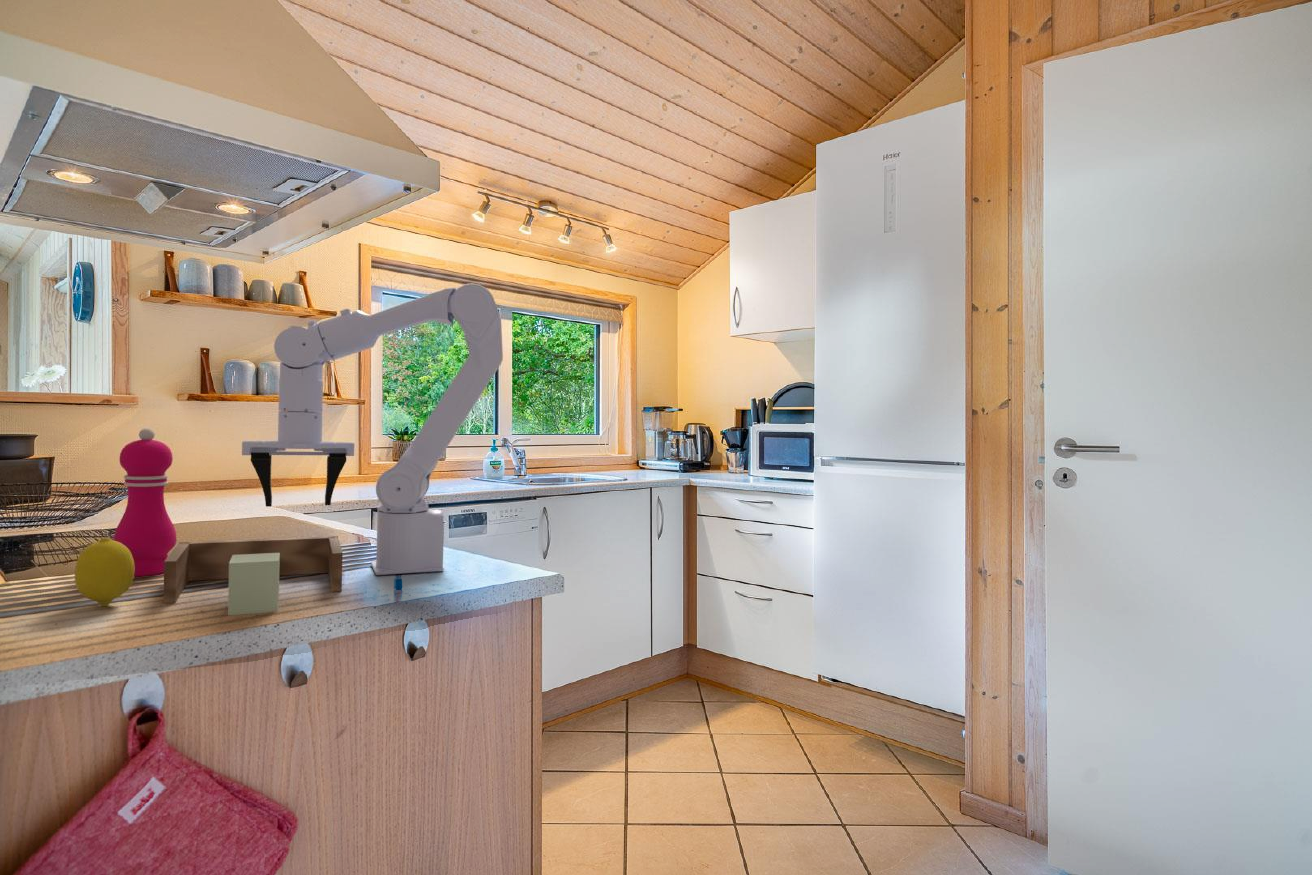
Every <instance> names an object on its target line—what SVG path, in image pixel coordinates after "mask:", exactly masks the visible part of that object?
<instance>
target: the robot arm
mask: <svg viewBox="0 0 1312 875" xmlns="http://www.w3.org/2000/svg"><path fill="white" fill-rule="evenodd" d="M339 312H340V313H339V314H340V315H337V316H334V317H332V318H328V319H325V320H321V321H319V322H317V321H316V320H310V321H308V322H307V327H304V326H302V325H301V326H300V325H291V326H290V327H288V328H286V329H283V330H282V331H281V332H279V334H278V335H277V336H276V338H275V340H274V345H273V347H274V353H275V355H276V357H277V359H278V360H279V361H280V362H279V379H278V418H277V419H278V420H277V421H278V423H277V427H278V428H277V440H243V441H242V442H241V455H242V456H250V463H251V464H252V466H253V468H254V470H255V472H256V475H257V477H258V480H259V481H260V484H261V488H262V491H263V495H264V496H263V497H264V501H265V507H266V508H267V507H273V506H272V505H273V504H272V503H273V495H272V459H273V458H272V456H327V457H326V484H325V494H324V505H325V506H331V504H332V498H333V494H334V490H335V487H336V484H337V481H338V479H339V476H340V474H341V472H342V470H343V468H344V466H345V465H346V462H347V457H354V456H355V442H344V441H343V442H339V441H337V442H336V441H322V440H323V404H324V402H323V398H324V393H323V392H324V381H323V368H324V367H323V366H324V365H325V364H326V363H327V361H328V360H329V361H335V360H337V359H341V358H345V357H347V356H351V355H354V354H357V353H359V352H362V351H367V350H369V349H372V348H374V347H375V346H376V343H377V341H378V339H379V338H380V337H381V336H385V335H387V334H390V333H391V334H392V333H394V332H398V331H401V330H405V329H406V330H407V329H408V328H413V327H416V326H419V325H422V324H425V323H430V322H435V323H439V324H444V325H449V326H454V320H455V321H456V322H457V324H458V325H459V327H460V328H461V330H462V332H463V334H464V335H463V337H464V340H465V344H466V346H467V347H466V348H467V351H468V357H467V358H466V360H465V361H464V363H463V365H462V366H461V367H460V369H459V371H458V372H457V374H455V376H454V378H453V379H452V381H451V382H450V384H449V385H448V387H447V389H446V390H445V391H444V394H443V395H442V396H441V397H440V400H439V401H438V403H437V404H436V405H435V407H434V408H433V410H432V412H431V414H429V416H428V418H427V420H426V421H425V423H424V424H423V426H422V427H421V428H420V430H419V432H418V433H417V435H416V437H415V438H414V440H413V441H412V442H411V444H410V445H409V446H408V448H407V449H406V450H405V451H404V453H403V454H402V455H401V457H400V458H399V459H398V461H397V462H396V464H394V465H393V466H392V467H391V468H389V469H387V470H385V471H384V472H383V473H381V475H380V476H379V477H378V479H377V482H376V484H375V494H376V497H377V499H378V501H379V502H380V503H381V504H380V505H378V506H377V511H376V512H377V514H376V515H377V516H376V550H375V551H376V556H375V557H376V558H375V560H372V561H370V565H371V568H372V570H373V572H374V574H375V575H376V576H382V575H385V576H386V575H395V574H396V575H398V574H399V575H401V574H413V573H414V574H415V573H417V574H418V573H428V572H431V573H432V572H443V571H444V570H445V569H444V539H445V538H444V537H445V536H444V534H445V524H444V520H445V519H444V515H443V512H442V510H441V509H439V508H438V509H431V508H429V504H428V503H427V502H426V501H425V500H424V499H423V498H424V497H425V496H426V494H427V492H428V491H429V488H430V479H431V476H432V474H433V472H434V470H435V468H436V467H437V465H438V463H439V461H440V460H441V458H442V456H443V455H444V453H445V451H446V450H447V448H448V447H449V446H450V443H451V442H452V440H453V439H454V437H455V436H456V434H457V433H458V431H459V429H460V428H461V426H462V425H463V423H464V422H465V421H466V418H468V416H469V414H470V412H471V411H472V410H473V408H474V406H475V405H476V404H477V402H478V401H479V398H481V395H482V394H483V393H484V391H485V389H487V387H488V385H489V383H490V382H491V380H492V378H493V377H494V376H495V374H496V372H497V371H498V370H499V368H500V366H502V362H503V359H504V355H503V334H502V319H501V315H500V314H501V313H500V311H499V308H498V305H497V303H496V301H495V298H494V296H493V294H492V293H491V291H490V290H489V289H487V288H486V287H485V286H483V285H481V284H478V283H466V284H463V285H461V286H459V287H457V289H456V287H455V286H454V287H447V288H444V289H441V290H438V291H435V292H431V293H429V294H426V295H423V296H420V297H418V298H415V299H412V300H408V301H406V302H403V303H400V304H398V305H395V306H393V307H390V308H387V309H384V310H382V311H379V312H376V313H373V314H368V313H366V312H364V311H362V310H359V309H356V310H353V311H352V310H351V309H350V308H346V309H345V308H344V309H342V310H340V311H339ZM287 449H289V450H290V449H291V450H292V449H293V450H314V451H287Z"/></svg>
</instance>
